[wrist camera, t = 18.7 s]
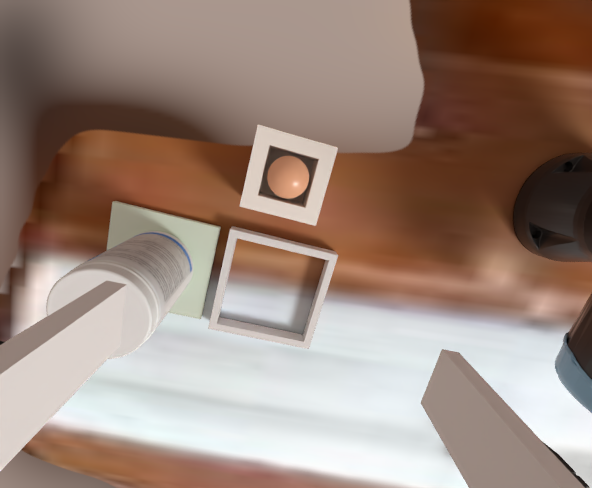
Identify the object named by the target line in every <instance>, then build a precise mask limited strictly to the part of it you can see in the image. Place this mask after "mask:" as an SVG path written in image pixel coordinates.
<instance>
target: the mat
mask: <svg viewBox="0 0 592 488" xmlns="http://www.w3.org/2000/svg"><path fill="white" fill-rule="evenodd" d="M220 229H221V227H220V226H216V225H212V224H207V223H203V222H199V221H195V220H191V219H187V218H183V217H179V216H175V215H171V214H167V213H163V212H159V211H155V210H150V209H146V208H142V207H138V206H134V205H130V204H126V203H122V202H118V201H113V202H112V210H111V218H110V226H109V234H108V243H107V250H109V249H111V248H113V247H115V246H117V245H119V244H121V243H123V242H124V241H126V240H128V239H130V238H132V237H134V236H136V235H138V234H141V233H144V232H149V231H160V232H165V233H168V234H170V235H173V236H174V237H176V238H178V239H179V240H180V241H181V242H182V243H183V244H184V245H185V246H186V247H187V249H188V250H189V252H190V254H191V257H192V261H193V275H192V278H191V280H190V282H189V284H188V285H187V287H186V288H185V290H184V291H183V292H182V294H181V295H180V297H179V298H178V299H177V301H176V302H175V304H174V305H173V306H172V308H171V309H170V310H169V313H173V314H178V315H183V316H188V317H193V318H198V319H201V317H202V313H203V309H204V304H205V299H206V295H207V290H208V285H209V280H210V276H211V271H212V266H213V262H214V257H215V252H216V247H217V243H218V238H219V233H220Z"/></svg>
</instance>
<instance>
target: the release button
mask: <svg viewBox="0 0 592 488" xmlns="http://www.w3.org/2000/svg"><path fill="white" fill-rule="evenodd" d="M267 180H268V184H269V187H270V188H271V190H272V191H273V192H274V193H275V194H276V195H278V196H279V197H282V198H287V199H290V198H295V197H297V196H299V195H301V194H302V193H303V192H304V191H305V189H306V188H307V185H308V182H309V172H308V169H307V167H306V165H305V164H304V163H303V162H302V161H301V160H300V159H298V158H296V157H293V156H283V157H280V158H278V159H276V160H275V161H274V162H273V163H272V164H271V166H270V168H269V170H268V174H267Z"/></svg>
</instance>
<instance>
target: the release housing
mask: <svg viewBox="0 0 592 488" xmlns="http://www.w3.org/2000/svg"><path fill="white" fill-rule="evenodd" d="M337 150H338V147H334V146H331V145H327V144H324V143H320V142H317V141H314V140H310V139H307V138H303V137H299V136H296V135H293V134H290V133H286V132H282V131H279V130H276V129H272V128H269V127H265V126H262V125H258V126H257V131H256V135H255V139H254V144H253V148H252V153H251V157H250V162H249V166H248V171H247V175H246V180H245V184H244V189H243V193H242V198H241V202H240V207H244V208H248V209H252V210H256V211H260V212H264V213H268V214H272V215H275V216H279V217H283V218H287V219H291V220H295V221H299V222H303V223H307V224H311V225H315V226H316V223H317V220H318V216H319V213H320V209H321V206H322V202H323V199H324V195H325V192H326V188H327V185H328V181H329V178H330V174H331V171H332V168H333V164H334V161H335V157H336V154H337ZM283 156H293V157H296V158H298V159H300V160H301V161H302V162H303V163H304V164H305V165H306V167H307V169H308V172H309V182H308V185H307V188H306V189H305V191H304V192H303V193H302V194H301V195H299V196H297V197H295V198H290V199H287V198H282V197H279V196H278V195H276V194H275V193H274V192H273V191H272V190H271V188H270V187H269V184H268V180H267V174H268V170H269V168H270V166H271V164H272V163H273V162H274V161H275V160H276V159H278V158H280V157H283Z"/></svg>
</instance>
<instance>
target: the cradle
mask: <svg viewBox="0 0 592 488" xmlns="http://www.w3.org/2000/svg"><path fill="white" fill-rule="evenodd" d="M237 238H239V239H243V240H247V241H251V242H255V243H259V244H263V245H267V246H272V247H276V248H280V249H284V250H288V251H292V252H296V253H300V254H304V255H309V256H313V257H317V258H321V259H325V264H324V267H323V270H322V274H321V277H320V280H319V284H318V287H317V290H316V293H315V297H314V300H313V303H312V307H311V310H310V313H309V316H308V320H307V323H306V326H305V330H304V333H303V334H298V333H293V332H289V331H284V330H279V329H274V328H269V327H265V326H260V325H255V324H250V323H246V322H241V321H236V320H231V319H226V318H222V317H219V316H220V312H221V307H222V303H223V298H224V294H225V290H226V285H227V281H228V276H229V272H230V268H231V263H232V259H233V254H234V250H235V246H236V241H237ZM337 257H338V255H337V253H336V252H335V251H332V250H327V249H323V248H319V247H315V246H311V245H307V244H303V243H299V242H295V241H291V240H287V239H283V238H279V237H275V236H271V235H267V234H263V233H259V232H255V231H251V230H247V229H243V228H238V227H234V226H232V227H231V229H230V232H229V237H228V241H227V246H226V250H225V255H224V259H223V264H222V268H221V273H220V277H219V282H218V286H217V291H216V296H215V300H214V305H213V309H212V314H211V318H210V323H209V327H208V329H213V330H218V331H223V332H228V333H233V334H238V335H243V336H247V337H252V338H257V339H262V340H267V341H272V342H277V343H282V344H287V345H292V346H297V347H301V348H306V349H309V347H310V343H311V340H312V337H313V334H314V331H315V327H316V324H317V321H318V318H319V315H320V311H321V308H322V305H323V302H324V299H325V295H326V292H327V289H328V286H329V283H330V279H331V276H332V273H333V270H334V267H335V264H336V260H337Z"/></svg>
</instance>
